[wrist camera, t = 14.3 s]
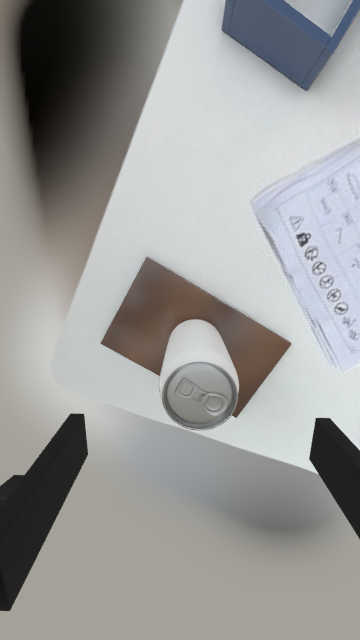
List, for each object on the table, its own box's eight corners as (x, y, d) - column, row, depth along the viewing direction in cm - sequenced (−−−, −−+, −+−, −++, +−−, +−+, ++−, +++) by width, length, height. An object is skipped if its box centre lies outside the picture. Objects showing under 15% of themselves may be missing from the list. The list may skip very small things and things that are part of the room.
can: (204, 377, 30) (215, 448, 19) (159, 353, 30) (141, 412, 18) (231, 334, 29) (261, 382, 17) (184, 308, 28) (182, 340, 17)
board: (103, 341, 31) (100, 343, 30) (148, 257, 28) (146, 257, 27) (234, 413, 33) (236, 418, 32) (288, 341, 30) (291, 343, 29)
